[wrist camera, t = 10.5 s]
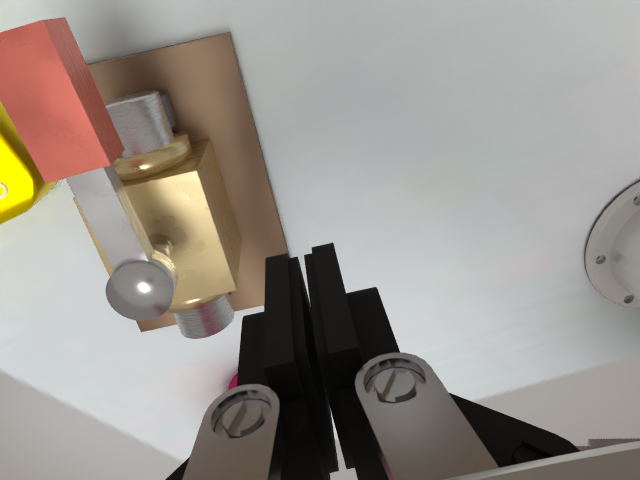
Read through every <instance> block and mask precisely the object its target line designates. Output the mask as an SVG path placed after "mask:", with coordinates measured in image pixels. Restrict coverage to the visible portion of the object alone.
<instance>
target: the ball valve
mask: <svg viewBox="0 0 640 480" xmlns="http://www.w3.org/2000/svg"><path fill="white" fill-rule="evenodd" d="M104 105H105V107H106V109H107V111H108V113H109V116H110V118H111V120H112V122H113V124H114V127H115V129H116V131H117V133H118V135H119V138H120V140H121V142H122V144H123V146H124V149H125V150H124V151H123V152H122V154H121V155H120V156H119V157H118V158H117V159H116V160H115V161H114V162H113V165H114V167H115V169H116V171H117V174H118V176H119V178H120V180H121V182H122V184H123V186H124V188H125V191H126V193H127V195H128V197H129V199H130V201H131V203H132V205H133V208H134V210H135V212H136V214H137V216H138V218H139V220H140V222H141V224H142V227H143V229H144V231H145V233H146V235H147V237H148V239H149V241H150V244H151V246H152V248H153V250H155V251H158V252H160V253H162V254H164V255H165V256H167V257H168V258H169V259H170V260H171V261H172V262H173V263H174V265H175V266H176V269H177V271H178V284H177V287H176V290H175V293H174V297H173V300H172V303H171V305H170V307H169V309H168V310H167V311H166V312H168V313H173V315H174V317H175V319H176V322H177V324H178V327H179V329H180V332H181V333H182V335H183V336H185V337H187V338H192V339H199V338H205V337H208V336H211V335H214V334H216V333H218V332H220V331H221V330H223V329H224V328H226V327H227V326H228V325H229V324H230V323H231V321H232V320H233V318H234V309H233V306H232V304H231V301H230V298H229V295H232V291H236V290H237V281H238V272H239V264H240V255H241V246H242V238H241V235H240V232H239V229H238V225H237V222H236V219H235V216H234V213H233V209H232V206H231V203H230V200H229V196H228V193H227V190H226V187H225V184H224V180H223V177H222V174H221V171H220V167H219V164H218V161H217V158H216V155H215V151H214V148H213V145H212V142H211V138H206V139H202V140H197V141H193V142H190V141H189V138H188V135H187V133H186V132H183V131H172V129H171V128H172V127H175V126H176V124H177V123H178V118H177V115H176V112H175V109H174V106H173V104H172V101H171V98H170V95H169V92H168V91H167V92H162V93H159V92H158V91H157V90H152V91H144V92H139V93H134V94H130V95H126V96H122V97H118V98H115V99H111V100H108V101H105V102H104ZM73 199H74V201H75V203H76V206H77V208H78V210H79V212H80V214H81V216H82V218H83V221H84V223H85V225H86V227H87V229H88V231H89V233H90V236H91V238H92V240H93V242H94V244H95V246H96V248H97V251H98V253H99V255H100V257H101V259H102V261H103V263H104V266H105V268H106V270H107V272H108V274H109V276H110V277H111V275H112V273H113V271H114V270H113V268H112V266H111V264H110V262H109V260H108V258H107V257H106V255H105V253H104V251H103V249H102V247H101V245H100V243H99V241H98V239H97V237H96V236H95V234H94V232H93V230H92V228H91V226H90V224H89V222H88V220H87V218H86V217H85V215H84V213H83V211H82V209H81V207H80V205H79V203H78V201H77V199H76V198H75V197H74V198H73Z"/></svg>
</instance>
